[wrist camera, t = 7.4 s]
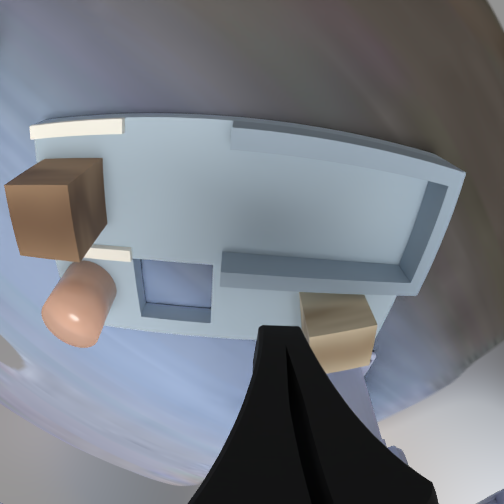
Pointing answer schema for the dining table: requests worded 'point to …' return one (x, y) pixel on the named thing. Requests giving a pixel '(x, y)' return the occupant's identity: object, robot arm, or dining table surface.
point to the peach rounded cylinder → (80, 304)
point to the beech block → (338, 329)
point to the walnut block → (58, 208)
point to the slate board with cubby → (256, 214)
